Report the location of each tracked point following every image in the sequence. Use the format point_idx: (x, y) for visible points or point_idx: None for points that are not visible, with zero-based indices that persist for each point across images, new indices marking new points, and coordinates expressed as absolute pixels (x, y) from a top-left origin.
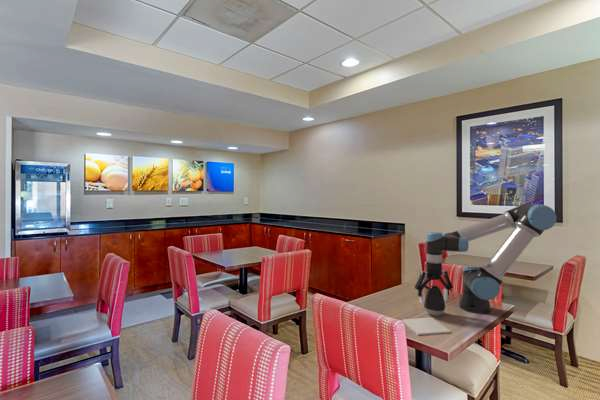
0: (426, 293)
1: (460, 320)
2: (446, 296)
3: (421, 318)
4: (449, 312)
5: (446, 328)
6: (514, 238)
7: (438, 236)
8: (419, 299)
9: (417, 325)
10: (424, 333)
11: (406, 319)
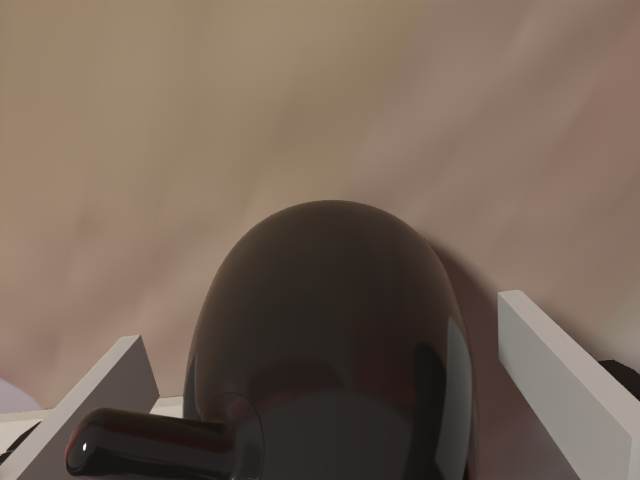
0: (182, 409)
1: (495, 422)
2: (541, 420)
3: (158, 412)
4: (511, 245)
5: None
6: None
7: None
8: (102, 359)
9: None
10: None
11: (27, 425)
